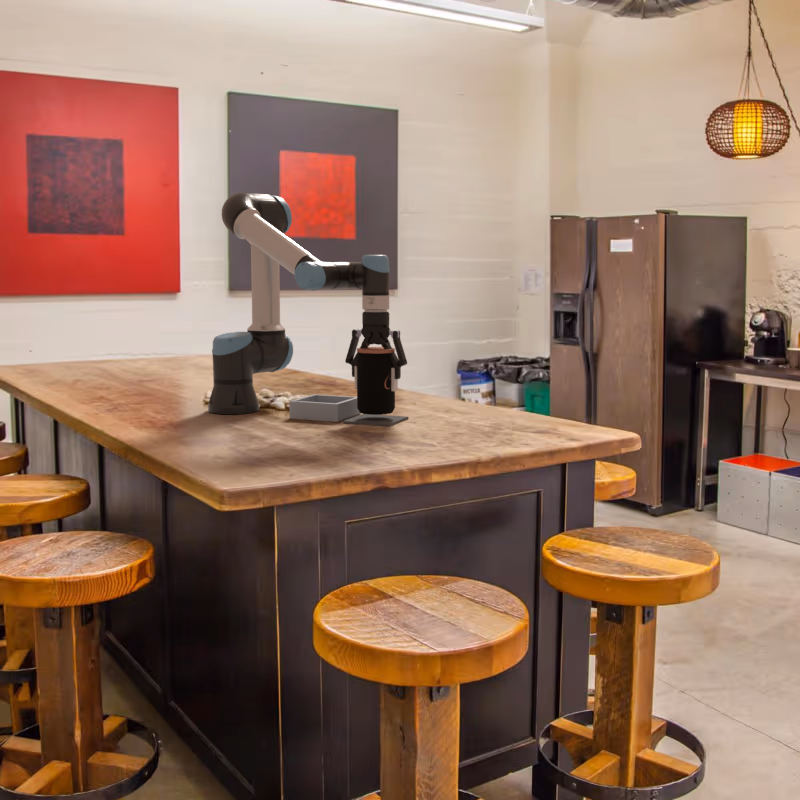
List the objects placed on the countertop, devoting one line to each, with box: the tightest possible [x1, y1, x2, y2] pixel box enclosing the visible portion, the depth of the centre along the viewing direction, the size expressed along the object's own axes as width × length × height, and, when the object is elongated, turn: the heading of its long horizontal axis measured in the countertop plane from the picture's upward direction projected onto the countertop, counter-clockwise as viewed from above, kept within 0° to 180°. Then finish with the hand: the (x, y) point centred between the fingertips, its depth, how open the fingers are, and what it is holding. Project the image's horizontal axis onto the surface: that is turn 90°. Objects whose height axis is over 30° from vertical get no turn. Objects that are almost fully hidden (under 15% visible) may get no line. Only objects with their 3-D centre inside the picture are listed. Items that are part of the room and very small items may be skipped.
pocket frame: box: [288, 393, 362, 423], centre depth 267 cm, size 15×15×5 cm
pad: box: [342, 413, 409, 427], centre depth 259 cm, size 14×14×1 cm
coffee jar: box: [356, 346, 396, 415], centre depth 258 cm, size 11×11×18 cm
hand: (376, 389), depth 258 cm, fingers closed on coffee jar, 11 cm apart
